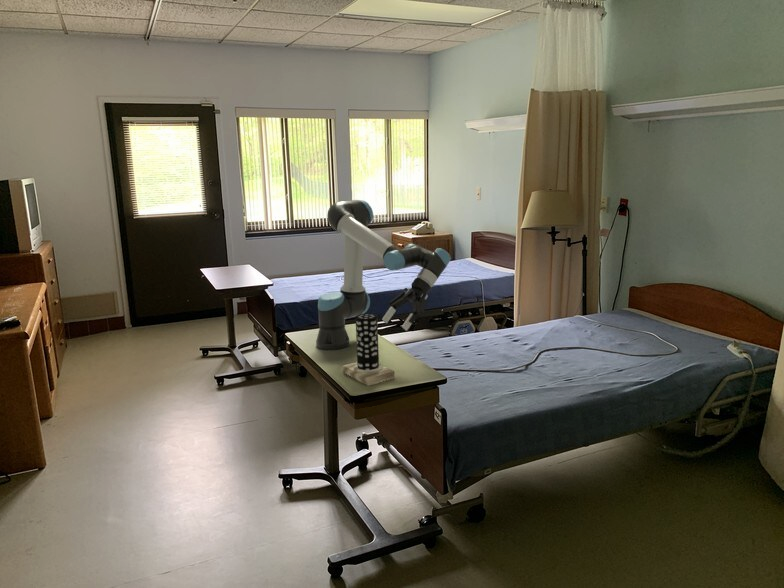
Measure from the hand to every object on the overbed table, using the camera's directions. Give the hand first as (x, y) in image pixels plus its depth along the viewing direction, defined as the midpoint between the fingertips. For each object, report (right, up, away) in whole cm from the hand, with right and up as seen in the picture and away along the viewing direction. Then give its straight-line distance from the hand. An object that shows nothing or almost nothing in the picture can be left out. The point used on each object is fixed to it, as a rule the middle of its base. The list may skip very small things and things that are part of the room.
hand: (393, 325), depth 232 cm
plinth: (-10, -19, -4) cm, 22 cm away
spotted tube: (-10, -16, -4) cm, 19 cm away
